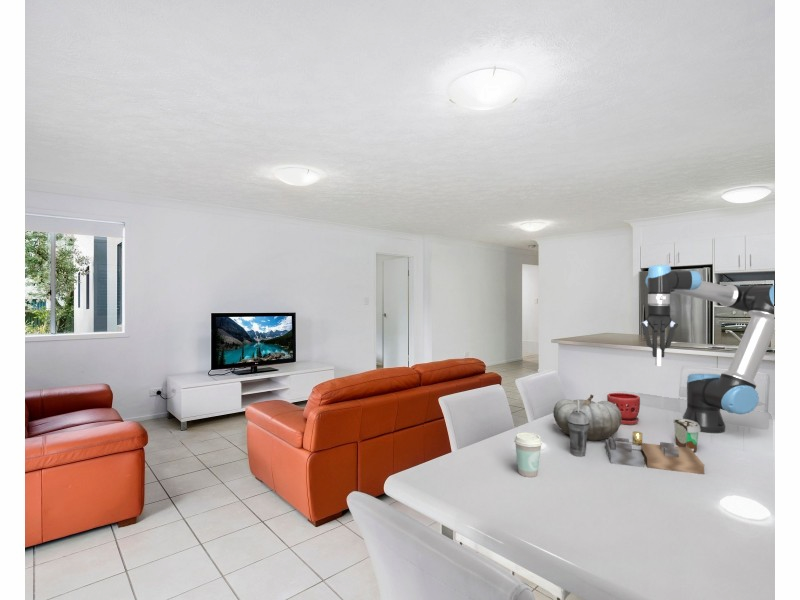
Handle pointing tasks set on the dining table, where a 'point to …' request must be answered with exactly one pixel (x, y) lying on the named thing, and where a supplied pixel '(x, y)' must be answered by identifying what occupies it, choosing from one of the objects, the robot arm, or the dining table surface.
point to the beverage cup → (578, 432)
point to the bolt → (635, 440)
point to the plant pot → (629, 411)
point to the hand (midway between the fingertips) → (658, 365)
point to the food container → (686, 433)
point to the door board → (654, 456)
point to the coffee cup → (528, 453)
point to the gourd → (590, 416)
